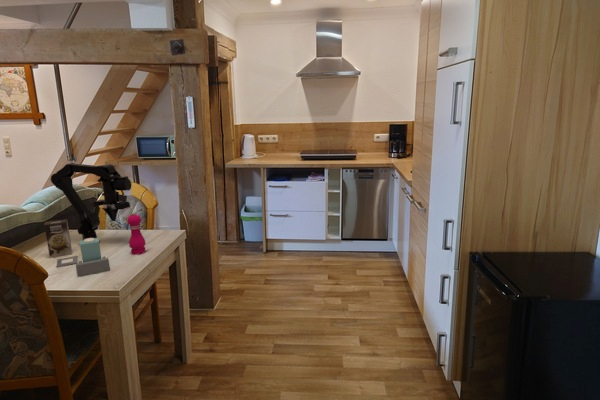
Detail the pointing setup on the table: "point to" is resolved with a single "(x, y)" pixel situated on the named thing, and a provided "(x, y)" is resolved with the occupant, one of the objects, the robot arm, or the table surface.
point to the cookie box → (58, 238)
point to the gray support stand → (92, 267)
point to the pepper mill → (136, 235)
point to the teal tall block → (90, 249)
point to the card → (67, 261)
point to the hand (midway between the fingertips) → (113, 221)
